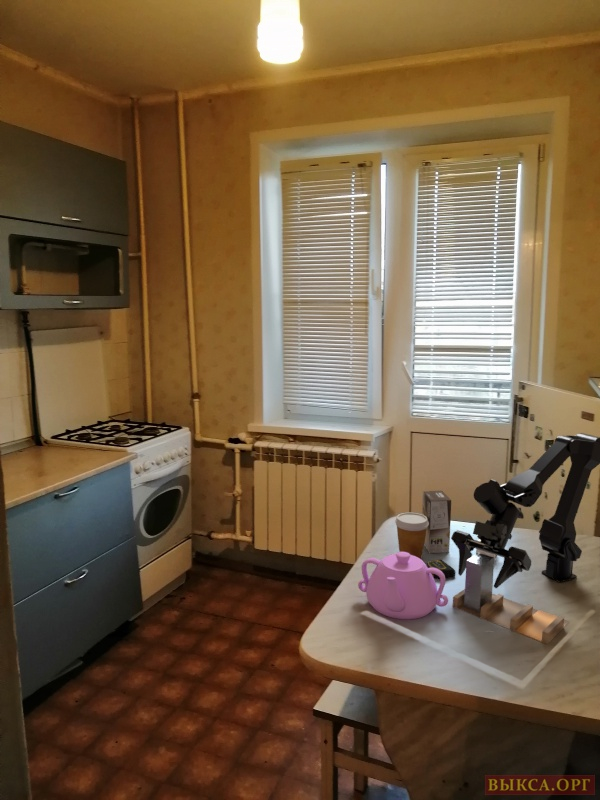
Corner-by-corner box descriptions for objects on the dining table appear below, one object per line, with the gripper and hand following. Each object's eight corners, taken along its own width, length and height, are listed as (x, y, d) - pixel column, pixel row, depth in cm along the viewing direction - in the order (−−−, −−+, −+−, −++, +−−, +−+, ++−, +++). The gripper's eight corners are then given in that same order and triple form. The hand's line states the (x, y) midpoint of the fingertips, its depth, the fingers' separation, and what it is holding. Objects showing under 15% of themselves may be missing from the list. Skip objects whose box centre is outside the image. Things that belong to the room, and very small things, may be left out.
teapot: (341, 625, 140) (342, 569, 138) (367, 583, 160) (368, 534, 157) (438, 645, 132) (441, 586, 130) (452, 599, 152) (454, 546, 149)
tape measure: (456, 581, 161) (457, 568, 161) (433, 585, 159) (434, 571, 159) (442, 570, 168) (443, 557, 167) (420, 573, 166) (421, 560, 165)
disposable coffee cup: (432, 555, 177) (433, 515, 175) (420, 567, 169) (421, 526, 167) (401, 547, 182) (403, 509, 180) (388, 559, 174) (389, 519, 172)
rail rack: (477, 591, 155) (478, 579, 155) (569, 625, 140) (570, 611, 139) (452, 610, 146) (453, 596, 146) (546, 648, 131) (548, 633, 130)
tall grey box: (476, 598, 150) (478, 552, 148) (491, 604, 147) (494, 557, 145) (464, 607, 146) (466, 560, 144) (479, 613, 143) (482, 565, 141)
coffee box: (450, 552, 179) (452, 500, 176) (428, 553, 178) (430, 501, 175) (440, 540, 188) (442, 490, 185) (420, 540, 187) (421, 490, 184)
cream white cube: (478, 551, 179) (479, 535, 179) (496, 555, 177) (497, 538, 176) (475, 558, 175) (476, 542, 174) (493, 561, 173) (494, 545, 172)
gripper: (456, 499, 152) (430, 554, 146) (529, 518, 139) (504, 579, 133) (470, 520, 159) (446, 574, 153) (541, 540, 146) (518, 599, 140)
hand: (476, 581), depth 145 cm, fingers open, 9 cm apart
